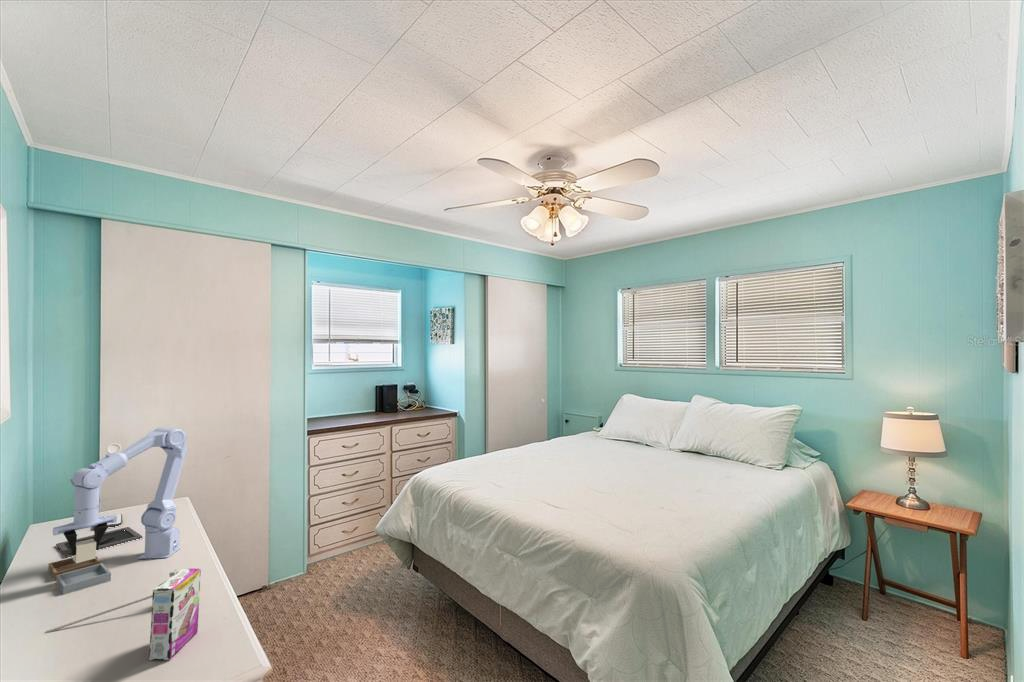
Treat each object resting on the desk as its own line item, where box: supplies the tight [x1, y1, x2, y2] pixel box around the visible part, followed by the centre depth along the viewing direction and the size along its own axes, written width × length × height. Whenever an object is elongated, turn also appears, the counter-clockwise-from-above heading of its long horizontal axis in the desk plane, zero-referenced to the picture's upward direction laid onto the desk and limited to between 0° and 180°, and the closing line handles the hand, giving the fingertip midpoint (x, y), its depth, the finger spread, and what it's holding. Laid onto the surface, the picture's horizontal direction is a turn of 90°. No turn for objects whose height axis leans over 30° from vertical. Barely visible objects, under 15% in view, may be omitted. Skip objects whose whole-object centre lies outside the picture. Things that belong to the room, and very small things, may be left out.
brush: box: [44, 568, 178, 634], centre depth 124 cm, size 4×28×9 cm, turn 120°
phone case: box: [102, 513, 123, 528], centre depth 190 cm, size 9×2×16 cm
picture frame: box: [55, 526, 143, 559], centre depth 171 cm, size 16×2×21 cm
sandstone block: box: [72, 539, 97, 563], centre depth 142 cm, size 4×4×5 cm
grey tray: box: [55, 562, 112, 595], centre depth 142 cm, size 11×11×2 cm
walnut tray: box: [47, 556, 102, 582], centre depth 149 cm, size 11×11×2 cm
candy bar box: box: [148, 568, 202, 662], centre depth 112 cm, size 11×5×16 cm, turn 5°
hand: (84, 551), depth 142 cm, fingers closed on sandstone block, 4 cm apart
